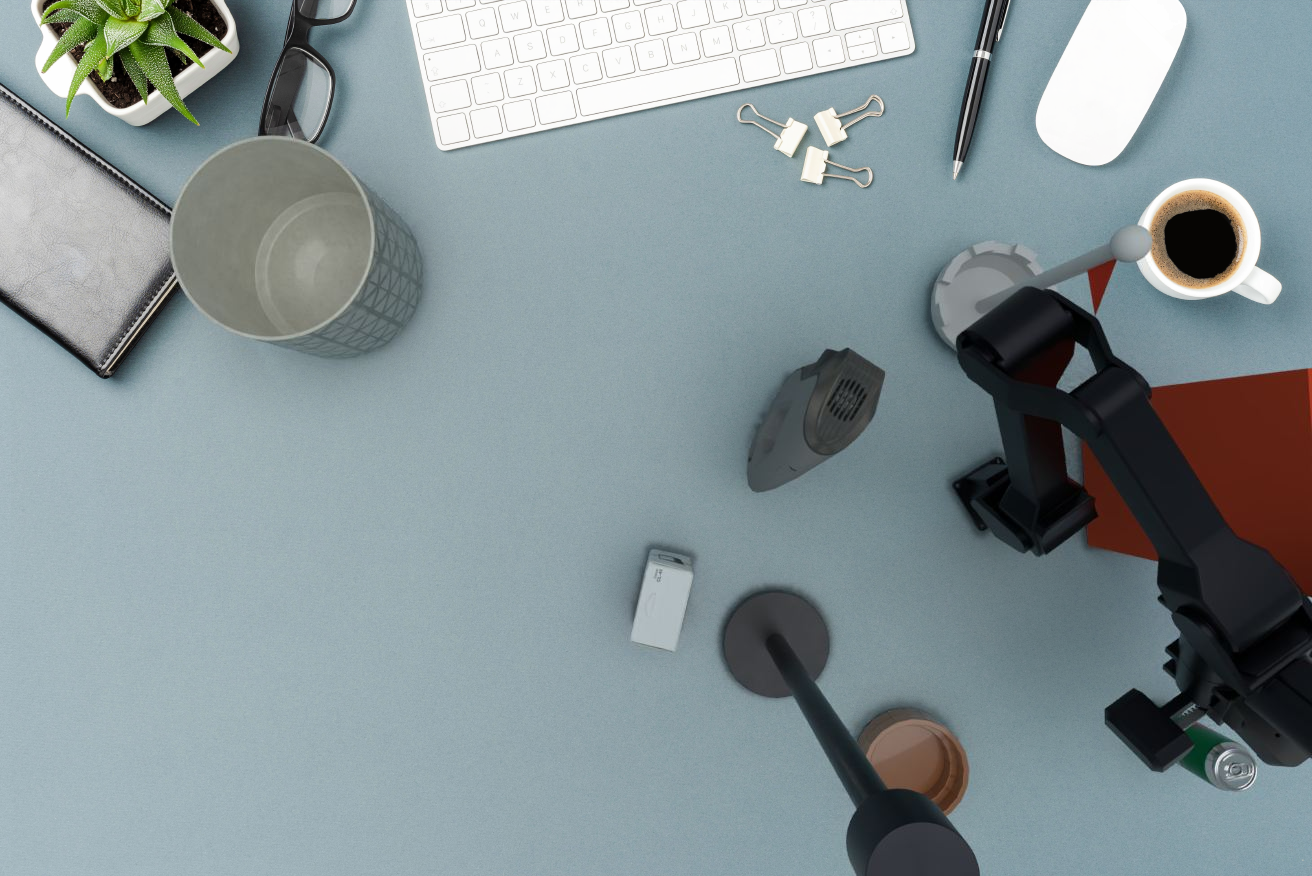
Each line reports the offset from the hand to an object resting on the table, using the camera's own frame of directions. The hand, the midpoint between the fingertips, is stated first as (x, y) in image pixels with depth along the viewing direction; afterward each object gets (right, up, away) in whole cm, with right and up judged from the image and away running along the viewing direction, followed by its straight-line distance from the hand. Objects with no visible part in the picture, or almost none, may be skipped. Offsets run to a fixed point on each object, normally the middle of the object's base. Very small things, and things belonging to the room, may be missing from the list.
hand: (1202, 713), depth 75 cm
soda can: (+4, -6, +14) cm, 16 cm away
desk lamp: (-40, +3, +13) cm, 42 cm away
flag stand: (-16, +42, +14) cm, 47 cm away
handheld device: (-38, +28, +14) cm, 49 cm away
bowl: (-25, -10, +13) cm, 30 cm away
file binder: (-1, +23, +14) cm, 27 cm away
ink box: (-53, +10, +14) cm, 55 cm away
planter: (-89, +45, +14) cm, 101 cm away
